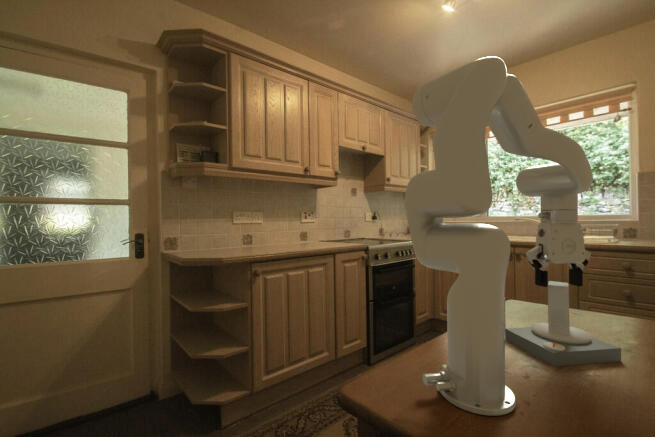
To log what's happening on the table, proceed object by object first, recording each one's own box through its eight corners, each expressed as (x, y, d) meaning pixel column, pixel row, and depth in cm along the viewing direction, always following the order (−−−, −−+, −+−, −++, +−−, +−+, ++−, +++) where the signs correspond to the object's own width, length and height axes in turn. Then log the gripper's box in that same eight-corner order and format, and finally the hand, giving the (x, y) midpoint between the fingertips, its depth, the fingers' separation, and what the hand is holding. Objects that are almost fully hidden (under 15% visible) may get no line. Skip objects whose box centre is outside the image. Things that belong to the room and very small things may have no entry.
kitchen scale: (554, 366, 66) (553, 348, 66) (505, 339, 81) (505, 324, 81) (621, 361, 69) (620, 343, 69) (561, 336, 84) (561, 321, 84)
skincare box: (548, 325, 80) (548, 280, 80) (569, 329, 78) (569, 282, 78) (547, 332, 75) (547, 284, 76) (569, 336, 73) (569, 286, 73)
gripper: (540, 217, 72) (540, 289, 72) (603, 218, 74) (603, 288, 74) (516, 217, 79) (516, 283, 79) (574, 218, 82) (575, 282, 81)
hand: (558, 285), depth 76 cm, fingers open, 9 cm apart
